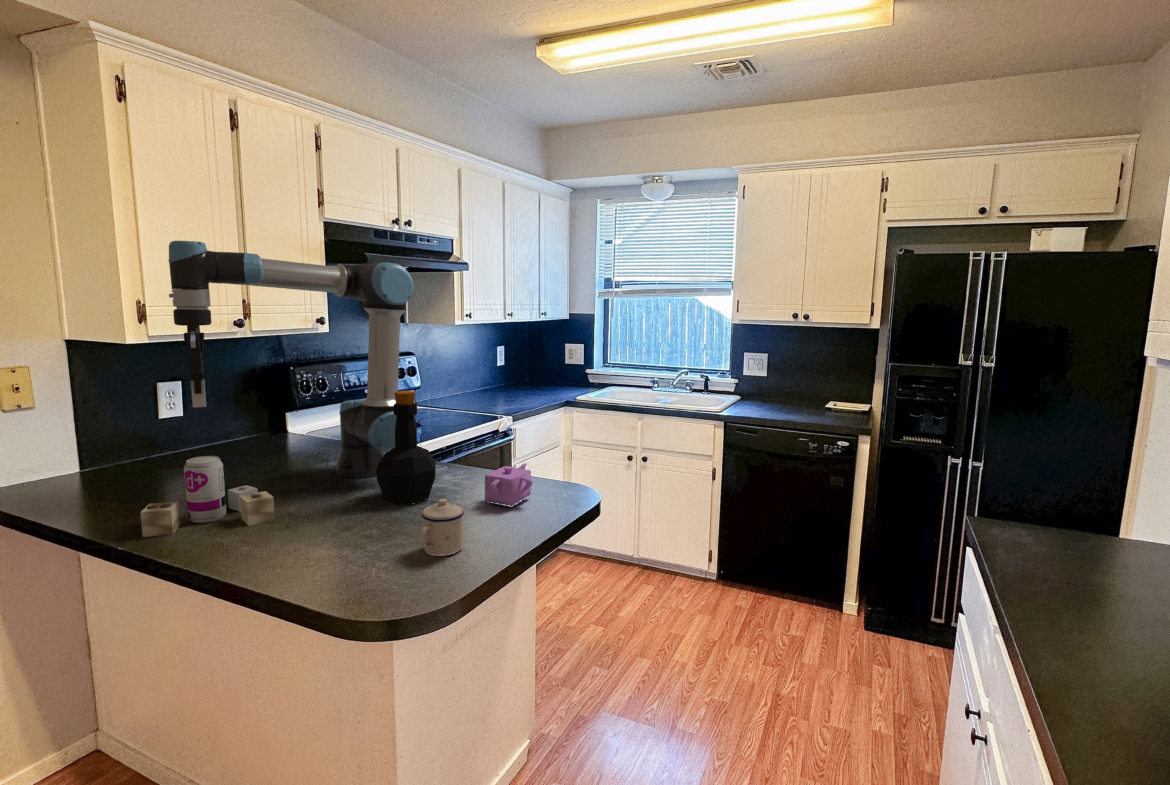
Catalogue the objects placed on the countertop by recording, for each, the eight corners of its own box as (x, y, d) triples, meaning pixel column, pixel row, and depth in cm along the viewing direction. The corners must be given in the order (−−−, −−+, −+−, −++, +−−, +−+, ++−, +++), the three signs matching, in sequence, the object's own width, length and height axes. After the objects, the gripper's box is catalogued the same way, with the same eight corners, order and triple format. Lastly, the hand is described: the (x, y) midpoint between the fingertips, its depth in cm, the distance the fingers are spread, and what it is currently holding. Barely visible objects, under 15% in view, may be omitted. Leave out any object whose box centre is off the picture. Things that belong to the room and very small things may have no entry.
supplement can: (209, 525, 151) (204, 465, 148) (179, 522, 152) (174, 462, 150) (234, 514, 159) (230, 456, 156) (206, 510, 160) (201, 454, 158)
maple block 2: (266, 513, 160) (265, 490, 159) (274, 520, 155) (273, 496, 154) (241, 519, 156) (239, 495, 155) (248, 525, 151) (247, 501, 150)
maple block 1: (180, 525, 151) (178, 500, 150) (173, 534, 145) (170, 509, 144) (151, 527, 149) (149, 502, 148) (142, 537, 143) (140, 511, 142)
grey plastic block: (247, 503, 167) (246, 484, 166) (258, 506, 164) (257, 487, 164) (229, 508, 163) (227, 489, 162) (240, 512, 160) (238, 492, 159)
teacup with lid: (440, 538, 147) (439, 490, 145) (471, 546, 143) (471, 497, 141) (404, 557, 136) (403, 506, 134) (437, 566, 132) (436, 513, 130)
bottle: (445, 502, 171) (444, 394, 167) (384, 511, 163) (381, 398, 158) (427, 485, 185) (426, 385, 180) (370, 493, 177) (367, 389, 172)
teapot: (507, 489, 184) (507, 456, 182) (548, 496, 178) (549, 462, 176) (471, 507, 168) (471, 471, 166) (515, 516, 162) (516, 479, 160)
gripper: (175, 307, 151) (183, 402, 155) (170, 309, 140) (178, 412, 143) (211, 307, 154) (218, 401, 158) (209, 309, 143) (216, 410, 147)
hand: (199, 406), depth 151 cm, fingers closed
